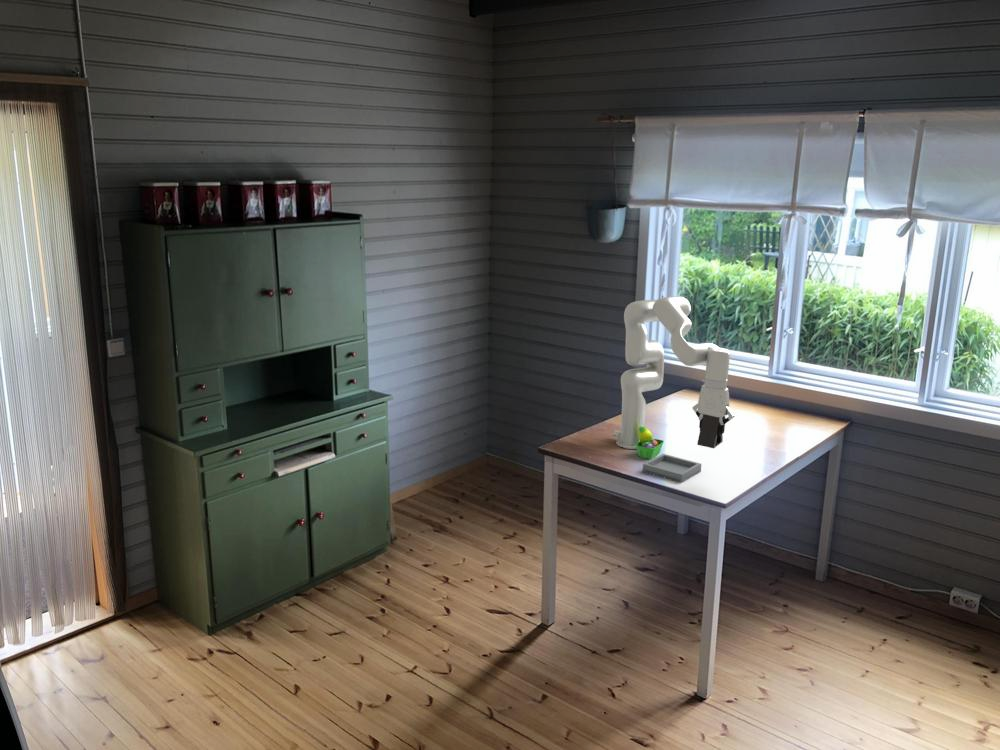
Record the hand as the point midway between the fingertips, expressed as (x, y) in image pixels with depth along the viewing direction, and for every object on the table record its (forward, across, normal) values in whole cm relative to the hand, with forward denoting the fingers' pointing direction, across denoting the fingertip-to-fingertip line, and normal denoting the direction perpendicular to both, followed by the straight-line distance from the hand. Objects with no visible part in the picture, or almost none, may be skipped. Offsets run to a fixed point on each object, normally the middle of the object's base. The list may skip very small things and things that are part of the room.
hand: (711, 432), depth 283 cm
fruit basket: (+20, -30, +11) cm, 38 cm away
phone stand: (+4, 0, 0) cm, 4 cm away
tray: (+19, -14, +1) cm, 24 cm away
